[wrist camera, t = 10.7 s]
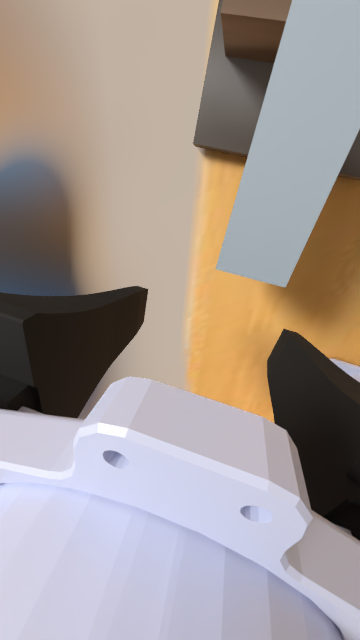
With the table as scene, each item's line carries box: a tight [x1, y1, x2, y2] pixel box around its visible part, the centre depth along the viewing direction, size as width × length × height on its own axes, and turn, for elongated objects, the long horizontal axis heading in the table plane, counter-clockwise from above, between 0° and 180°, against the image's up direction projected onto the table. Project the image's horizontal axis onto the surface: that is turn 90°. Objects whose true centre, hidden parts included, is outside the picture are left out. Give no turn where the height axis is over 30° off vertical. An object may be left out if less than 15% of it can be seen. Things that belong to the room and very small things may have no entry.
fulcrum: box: [193, 0, 360, 180], centre depth 11 cm, size 12×12×4 cm
